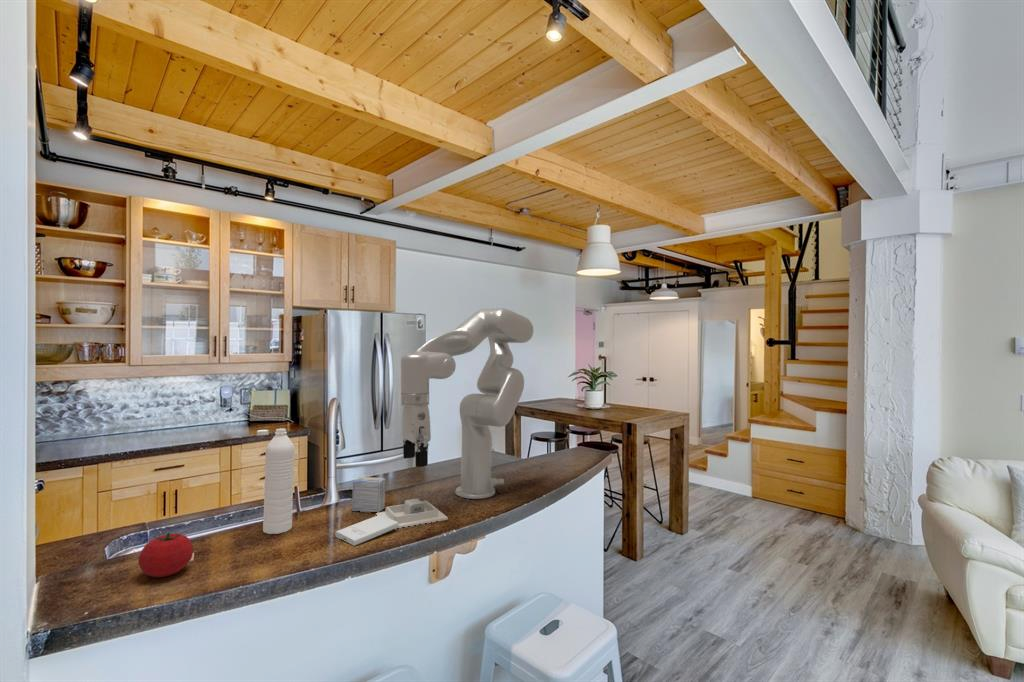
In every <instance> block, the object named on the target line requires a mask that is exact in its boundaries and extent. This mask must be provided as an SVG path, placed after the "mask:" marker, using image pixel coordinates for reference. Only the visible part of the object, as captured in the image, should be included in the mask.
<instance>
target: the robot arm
mask: <svg viewBox="0 0 1024 682" xmlns="http://www.w3.org/2000/svg"><path fill="white" fill-rule="evenodd" d="M533 335H534V326H533V322H531V320H530V319H529V318H528V317H525V316H523V315H522V314H519V313H517V312H514V311H513V310H511V309H507V308H501V307H500V308H497V307H496V308H481V309H479V310H476V311H475V312H474V313H472V314H471V316H469V317H468V318H467V319H465V320H464V321H463V322H462V323H460V324H459V325H458V326H457V327H456V328H454V329H452V330H450V331H447V332H445V333H443V334H441V335H439V336H437V337H435V338H432V339H430V340H428V341H426V342H425V343H424V344H422V345H421V346H420V347H419V348H417V350H415V351H414V352H413V353H407V354H403V355H402V356H401V359H400V406H402V408H403V410H402V437H403V439H402V443H403V454H402V455H403V458H404V459H406V460H407V459H412V458H415V467H416V468H420V467H422V468H423V467H426V466H428V464H429V463H428V462H429V461H428V460H429V458H428V456H429V448H428V447H429V445H430V444H429V443H430V441H431V437H432V436H431V435H432V434H431V432H432V431H431V417H430V408H429V405H430V379H434V380H446V379H448V378H450V377H451V376H453V374H454V373H455V371H456V367H457V364H456V361H455V358H454V357H457V356H461V355H466V354H467V353H471V352H472V351H474V350H475V349H476V348H477V347H478V346H479V345H480V344H481V343H482V342H483V341H484V340H486V339H488V343H489V346H490V347H489V348H490V350H489V355H488V358H487V360H486V361H485V364H484V366H483V368H482V370H481V372H480V374H479V376H478V379H477V382H476V388H477V390H478V391H479V392H480V393H469V394H467V395H465V396H464V397H463V398H462V399H461V400H460V401H461V402H460V404H459V416H460V422H461V462H460V465H461V467H460V485H459V486H458V487H456V488H455V494H456V496H458V497H460V498H464V499H469V500H470V499H472V500H478V499H479V500H482V499H487V498H490V497H494V496H495V494H496V488H495V487H496V486H502V485H504V484H505V480H504V478H497V477H494V478H493V477H492V475H491V474H492V444H493V443H492V442H493V441H492V440H493V438H492V433H491V429H490V428H489V426H490V427H496V428H497V427H498V428H500V427H501V428H502V427H505V426H507V425H508V424H509V422H510V421H511V419H512V418H513V415H514V413H515V411H516V408H517V407H518V404H519V401H520V399H521V398H522V395H523V391H524V389H525V377H524V375H523V372H522V371H520V369H517V368H514V367H512V366H513V364H514V355H513V352H512V350H511V347H509V343H510V344H513V343H514V344H523V343H527V342H529V341H531V339H532V338H533Z"/></svg>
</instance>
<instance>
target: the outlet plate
mask: <svg viewBox="0 0 1024 682" xmlns="http://www.w3.org/2000/svg"><path fill="white" fill-rule="evenodd" d="M420 501H421V500H420ZM421 502H423V503H424V504H425V510H424V512H419V513H413V514H407V515H405V514H404V504H397V505H390V506H389V505H388V506H385V511H381V512H379V513H375V516H376V515H382V516H385V517H387V518H390V519H392V520H394V521H397V522H398V525H399V526H398V528H399V529H403V528H402V527H405V528H409V527H408V526H410V527H415V526H414V525H416V526H420V525H419V524H421V525H426V524H425V523H427V524H431V522H432V523H437V522H436V521H438V522H442V521H446V520H447V521H448V520H449V519H448V516H447V515H446V514H444V513H443V512H442V511H441V510H439V509H438V508H437V507H436V506H434V505H433V504H432V503H430V502H429V501H427V500H422V501H421ZM395 530H398V529H397V528H396V529H395Z"/></svg>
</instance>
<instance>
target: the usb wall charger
mask: <svg viewBox="0 0 1024 682" xmlns="http://www.w3.org/2000/svg"><path fill="white" fill-rule="evenodd" d="M424 510H425V504H424V503H423V502H421V500H420V499H419V498H411V499H406V500H404V514H405V515H407V514H413V513H419V512H424Z"/></svg>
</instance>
